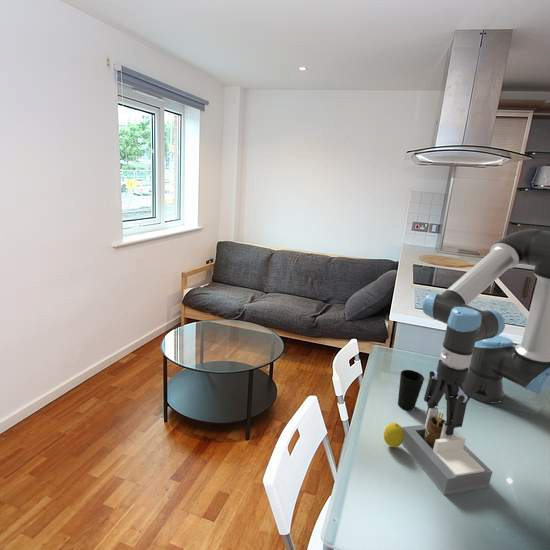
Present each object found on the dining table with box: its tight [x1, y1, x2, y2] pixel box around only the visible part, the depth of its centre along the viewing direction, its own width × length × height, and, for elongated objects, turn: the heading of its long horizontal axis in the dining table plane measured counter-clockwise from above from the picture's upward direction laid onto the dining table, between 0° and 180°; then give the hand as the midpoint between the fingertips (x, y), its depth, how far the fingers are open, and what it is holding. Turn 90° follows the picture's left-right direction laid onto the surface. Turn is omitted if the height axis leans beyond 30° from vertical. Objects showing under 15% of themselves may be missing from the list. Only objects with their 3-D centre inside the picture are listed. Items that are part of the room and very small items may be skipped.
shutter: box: [433, 435, 485, 476], centre depth 102 cm, size 9×9×4 cm
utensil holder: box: [424, 406, 447, 448], centre depth 110 cm, size 6×6×12 cm
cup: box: [397, 369, 425, 412], centre depth 133 cm, size 8×8×12 cm
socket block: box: [401, 424, 493, 496], centre depth 108 cm, size 14×20×5 cm
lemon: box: [383, 422, 404, 448], centre depth 112 cm, size 6×6×8 cm
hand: (436, 434), depth 111 cm, fingers closed on utensil holder, 6 cm apart
